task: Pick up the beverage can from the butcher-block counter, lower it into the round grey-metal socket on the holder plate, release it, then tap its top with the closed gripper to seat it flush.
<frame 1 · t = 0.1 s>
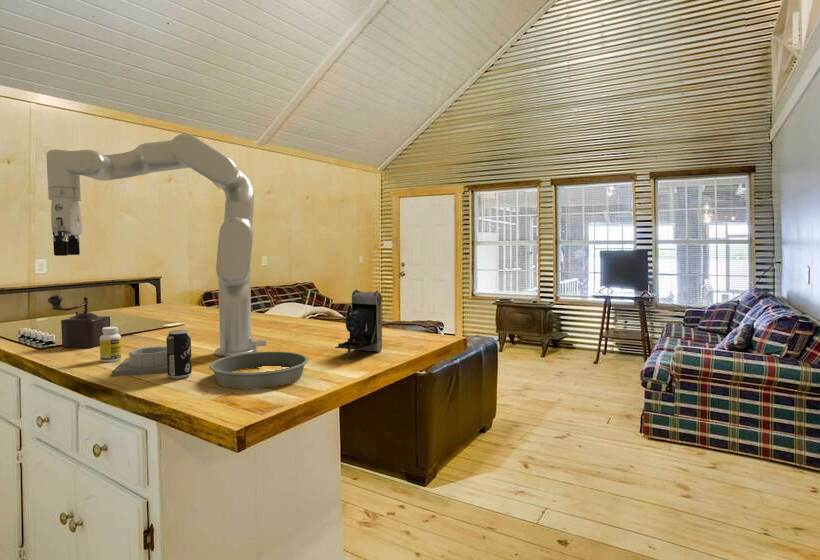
hand: (67, 255, 142), 31 cm above the worktop, fingers open, 9 cm apart
beverage can: (179, 377, 129), on the worktop
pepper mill: (80, 347, 167), on the worktop
supplement bottle: (111, 360, 148), on the worktop
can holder: (152, 366, 140), on the worktop
vintage camera: (359, 355, 156), on the worktop
cake pan: (260, 378, 130), on the worktop
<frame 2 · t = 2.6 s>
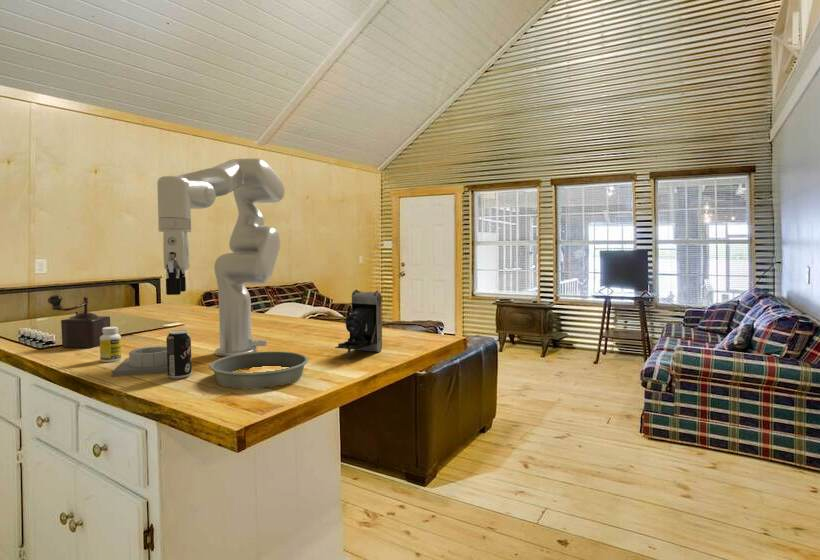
hand: (176, 293, 127), 22 cm above the worktop, fingers open, 9 cm apart
nothing on the worktop moved.
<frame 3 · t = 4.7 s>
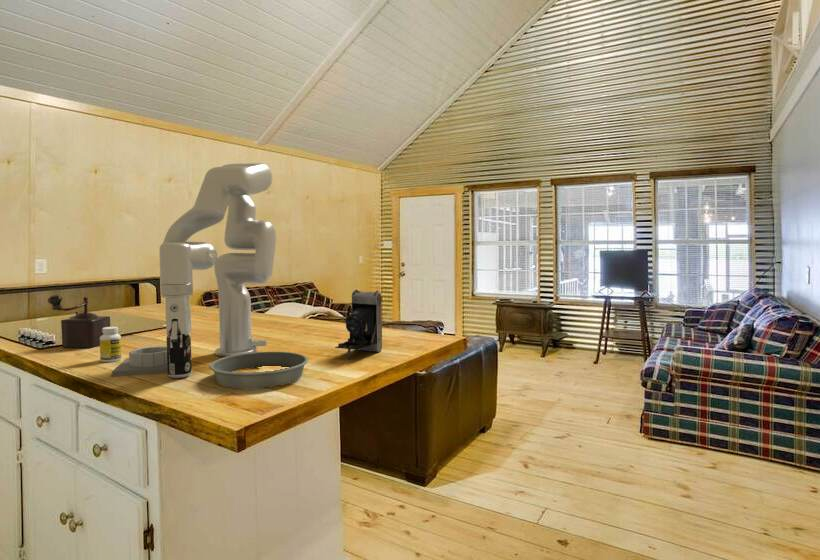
hand: (178, 360, 129), 4 cm above the worktop, fingers closed on beverage can, 4 cm apart
beverage can: (179, 377, 129), on the worktop, touching gripper
everything else where it was.
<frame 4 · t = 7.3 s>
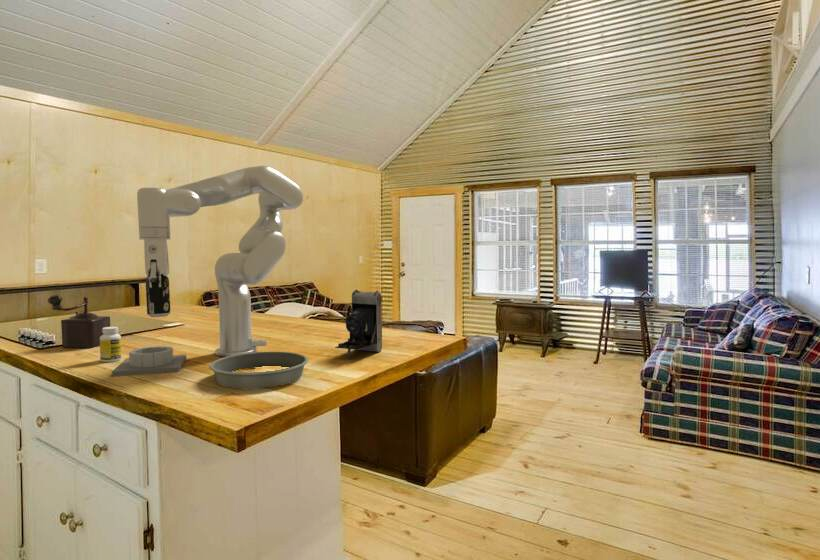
hand: (157, 300, 136), 19 cm above the worktop, fingers closed on beverage can, 4 cm apart
beverage can: (159, 317, 136), point 14 cm above the worktop, touching gripper
everything else where it was.
when the fingers open (6 cm above the worktop, at t = 10.1 s): beverage can stays where it is, resting on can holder.
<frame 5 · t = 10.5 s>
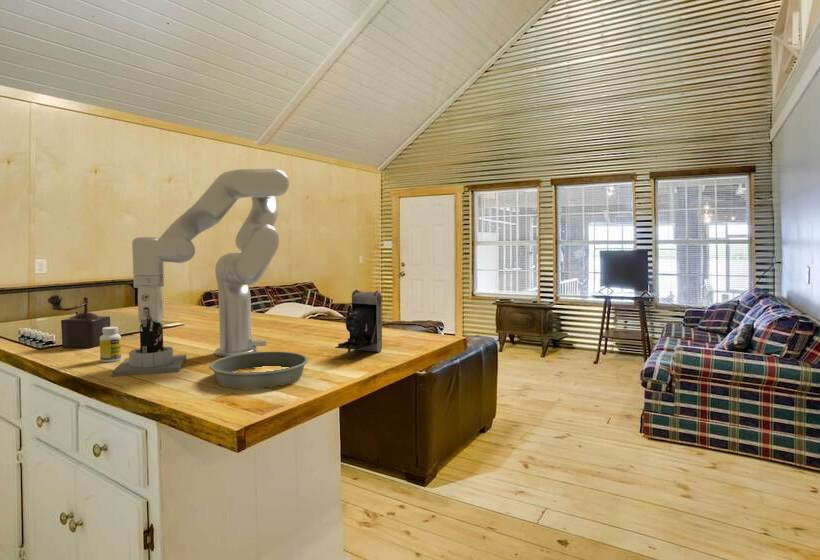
hand: (151, 342, 139), 7 cm above the worktop, fingers open, 9 cm apart
beverage can: (152, 362, 140), point 1 cm above the worktop, touching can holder
everything else where it was.
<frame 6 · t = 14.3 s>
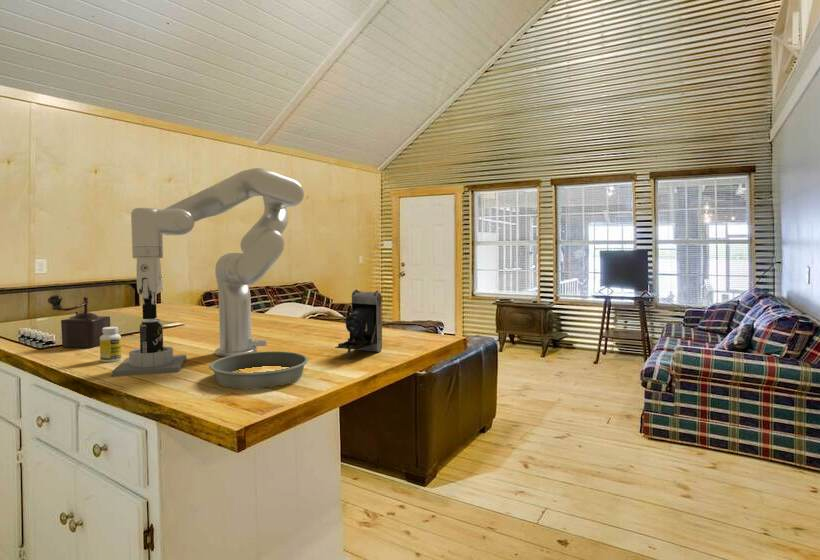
hand: (149, 318, 139), 14 cm above the worktop, fingers closed
nothing on the worktop moved.
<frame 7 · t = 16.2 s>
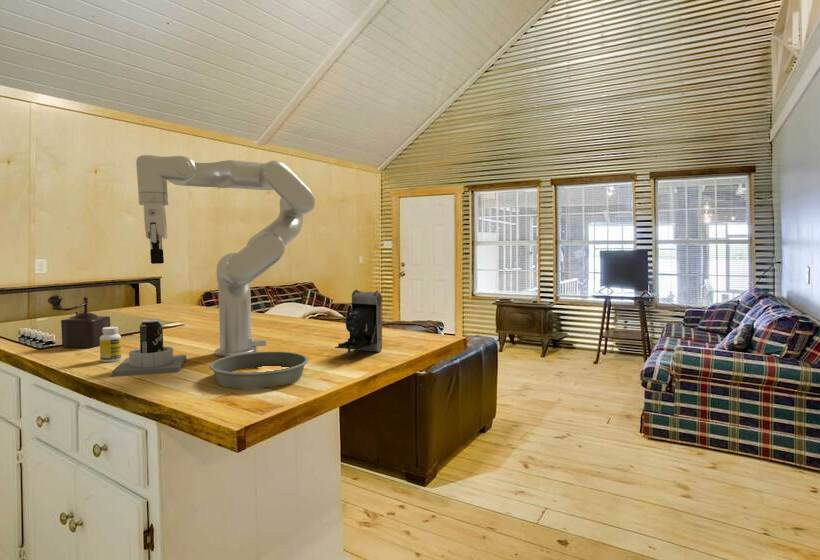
hand: (157, 263, 144), 29 cm above the worktop, fingers closed
nothing on the worktop moved.
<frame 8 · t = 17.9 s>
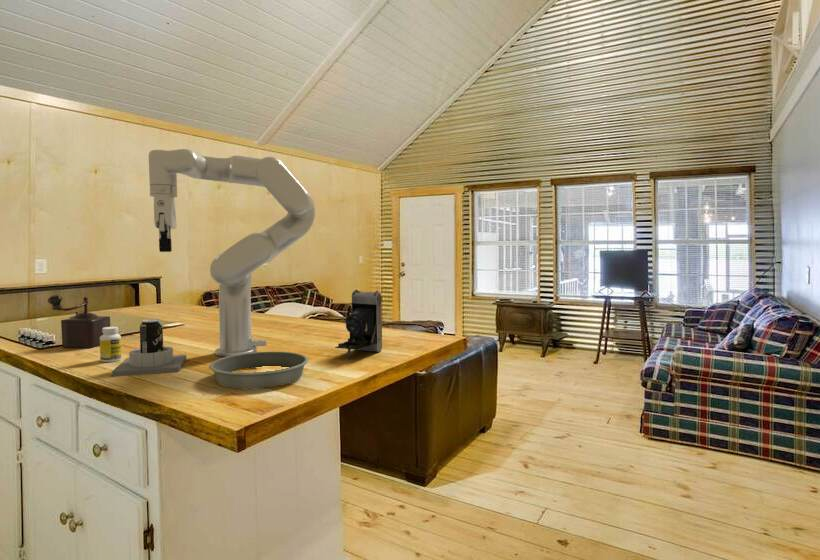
hand: (165, 251, 153), 32 cm above the worktop, fingers closed
nothing on the worktop moved.
at the end: beverage can 0.5 cm off-centre on the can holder, point 1.0 cm above the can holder's base; beverage can tilted 0°; the gripper is holding nothing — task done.
